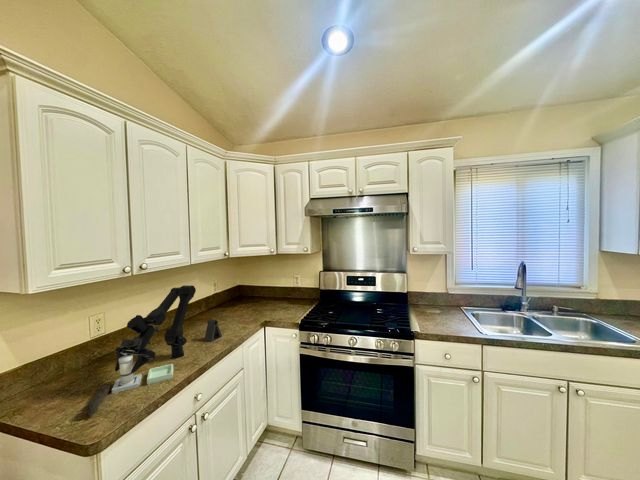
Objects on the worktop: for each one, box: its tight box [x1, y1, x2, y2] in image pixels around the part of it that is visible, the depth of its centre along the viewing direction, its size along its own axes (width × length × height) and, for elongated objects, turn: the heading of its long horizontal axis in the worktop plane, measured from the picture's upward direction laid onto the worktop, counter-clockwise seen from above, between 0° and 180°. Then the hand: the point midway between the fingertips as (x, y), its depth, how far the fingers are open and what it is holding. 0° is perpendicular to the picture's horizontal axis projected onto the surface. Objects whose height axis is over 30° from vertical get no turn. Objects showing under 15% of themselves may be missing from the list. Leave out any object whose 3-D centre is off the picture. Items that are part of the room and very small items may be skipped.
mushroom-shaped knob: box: [119, 354, 136, 387], centre depth 123 cm, size 5×5×12 cm
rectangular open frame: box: [111, 373, 143, 394], centre depth 123 cm, size 10×10×2 cm
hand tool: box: [87, 383, 113, 419], centre depth 109 cm, size 19×4×5 cm, turn 20°
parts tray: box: [146, 363, 174, 386], centre depth 129 cm, size 11×10×2 cm
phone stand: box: [204, 318, 223, 342], centre depth 173 cm, size 9×6×12 cm, turn 153°
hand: (123, 372), depth 121 cm, fingers open, 9 cm apart
